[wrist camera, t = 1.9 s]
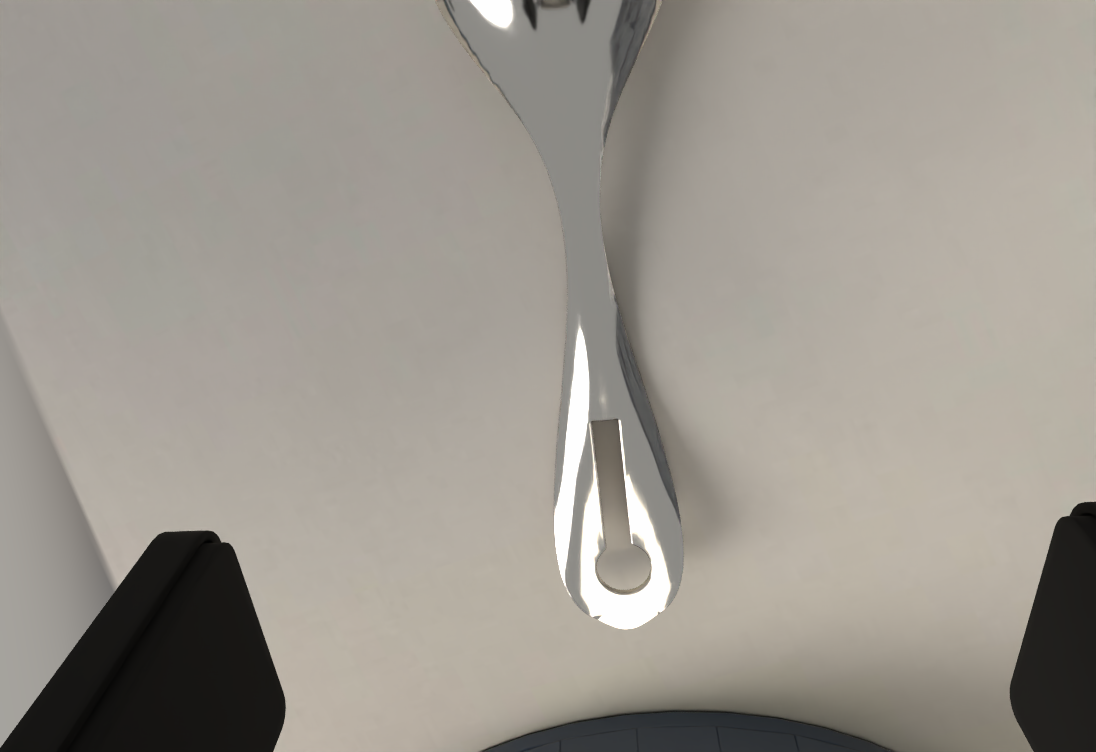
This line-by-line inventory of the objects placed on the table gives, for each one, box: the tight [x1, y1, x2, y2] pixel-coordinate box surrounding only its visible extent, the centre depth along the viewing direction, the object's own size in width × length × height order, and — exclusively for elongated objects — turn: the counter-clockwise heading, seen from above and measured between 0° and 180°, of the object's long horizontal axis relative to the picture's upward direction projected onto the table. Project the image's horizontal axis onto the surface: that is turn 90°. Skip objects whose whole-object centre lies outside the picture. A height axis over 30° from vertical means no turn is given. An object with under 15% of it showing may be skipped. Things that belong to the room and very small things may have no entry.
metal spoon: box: [435, 0, 684, 629], centre depth 18 cm, size 20×4×5 cm
